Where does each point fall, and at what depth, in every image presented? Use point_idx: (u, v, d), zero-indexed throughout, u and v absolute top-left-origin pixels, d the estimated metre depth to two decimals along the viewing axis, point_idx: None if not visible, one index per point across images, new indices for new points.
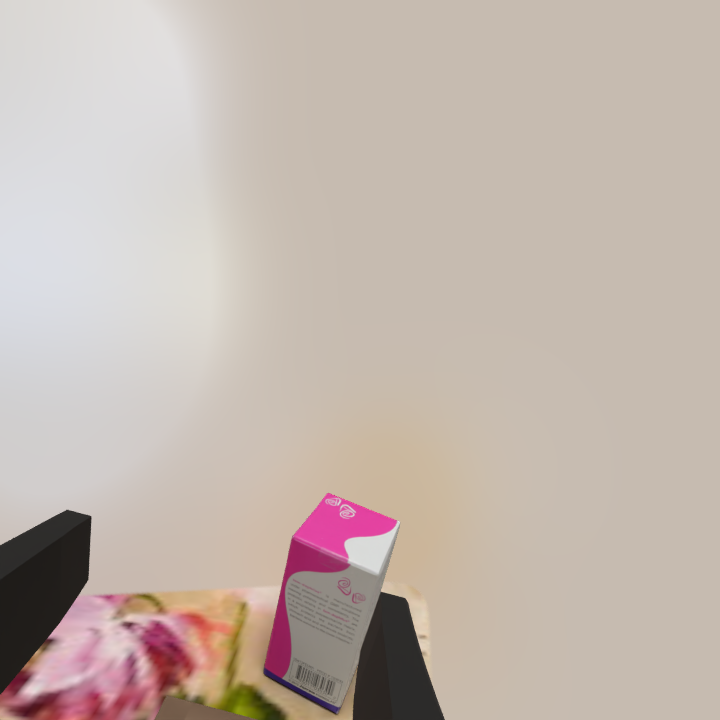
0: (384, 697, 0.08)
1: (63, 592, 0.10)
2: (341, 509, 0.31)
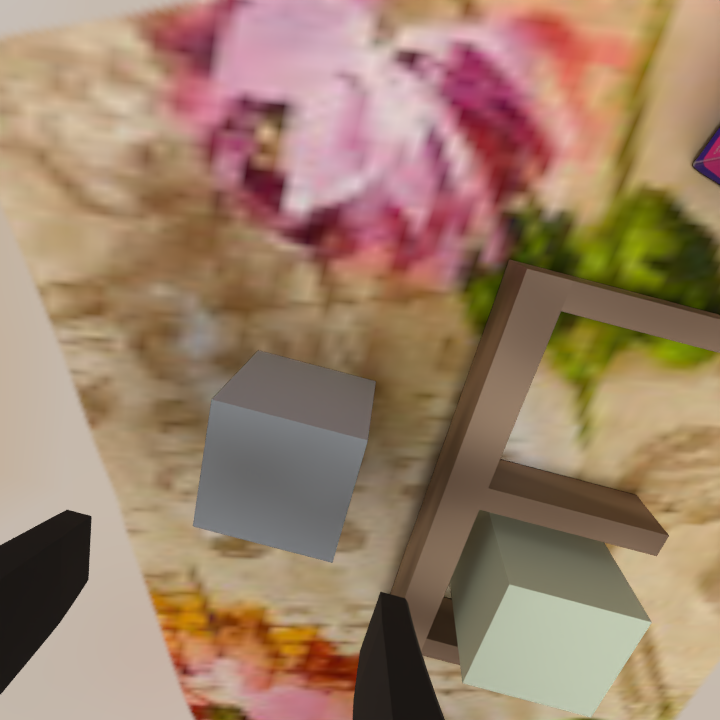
0: (384, 697, 0.08)
1: (63, 592, 0.10)
2: None
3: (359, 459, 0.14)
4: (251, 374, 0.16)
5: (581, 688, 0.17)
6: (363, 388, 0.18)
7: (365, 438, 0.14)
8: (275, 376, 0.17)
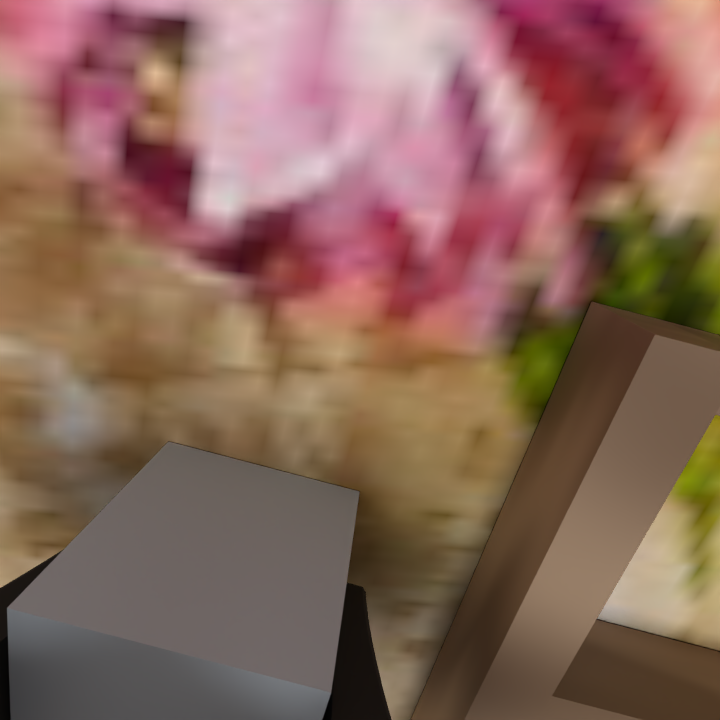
0: None
1: None
2: None
3: None
4: (131, 509, 0.09)
5: None
6: (336, 516, 0.10)
7: (326, 685, 0.07)
8: (177, 507, 0.09)
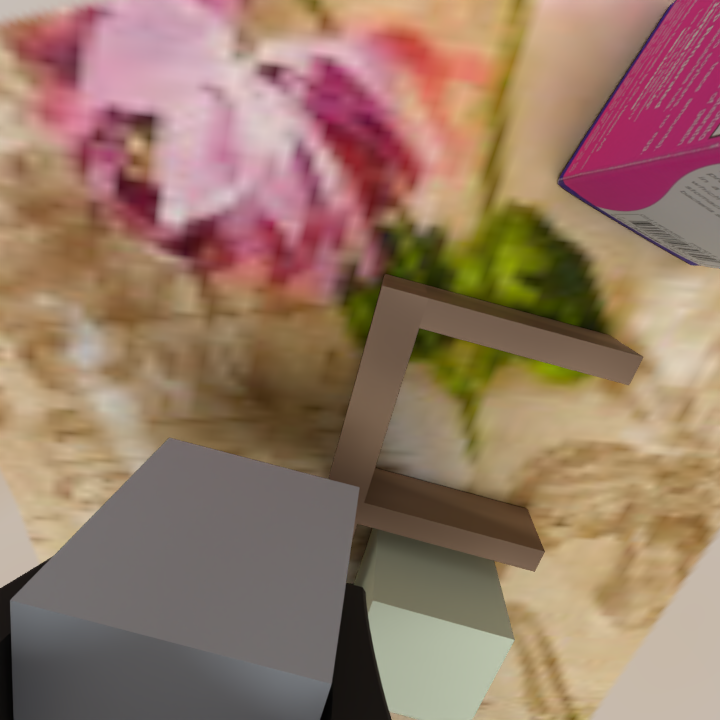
0: None
1: None
2: None
3: (316, 713, 0.07)
4: (133, 503, 0.09)
5: (453, 704, 0.17)
6: (336, 511, 0.10)
7: (327, 676, 0.07)
8: (179, 502, 0.10)
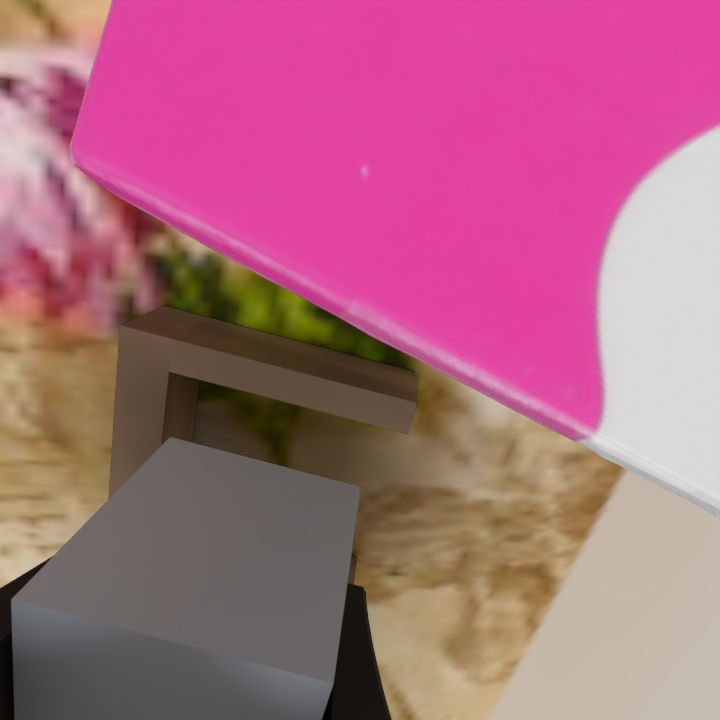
0: None
1: None
2: None
3: (317, 713, 0.07)
4: (134, 503, 0.09)
5: None
6: (338, 511, 0.10)
7: (329, 676, 0.07)
8: (179, 502, 0.09)
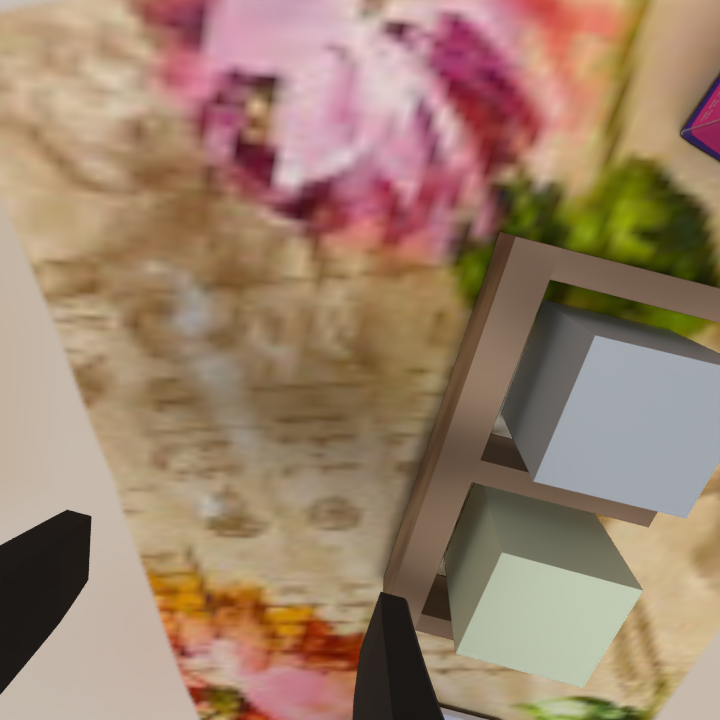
0: (384, 697, 0.08)
1: (63, 592, 0.10)
2: None
3: None
4: (579, 317, 0.15)
5: (573, 658, 0.17)
6: (675, 335, 0.16)
7: None
8: (597, 320, 0.15)
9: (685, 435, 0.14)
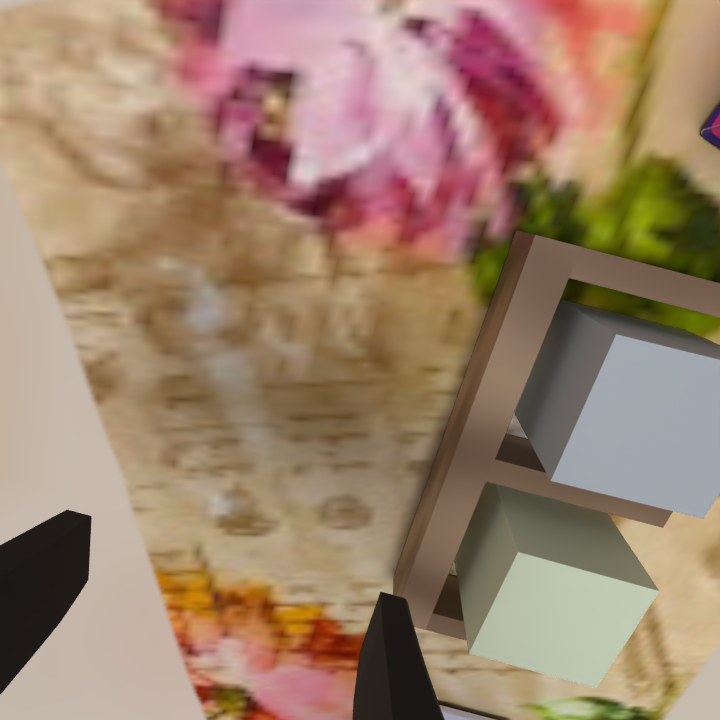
0: (384, 697, 0.08)
1: (63, 592, 0.10)
2: None
3: None
4: (597, 316, 0.15)
5: (587, 658, 0.17)
6: (692, 335, 0.16)
7: None
8: (615, 320, 0.15)
9: (705, 435, 0.13)
